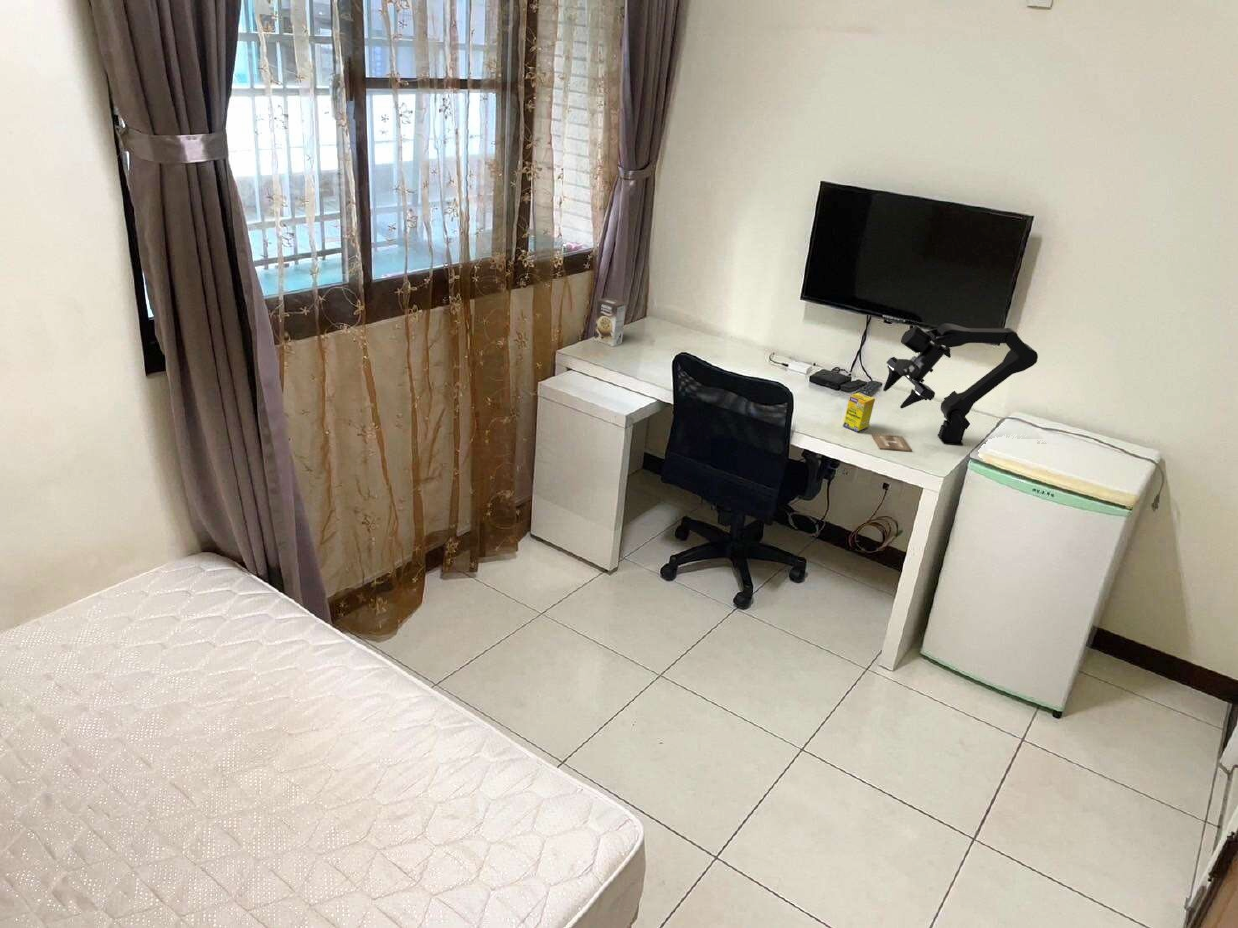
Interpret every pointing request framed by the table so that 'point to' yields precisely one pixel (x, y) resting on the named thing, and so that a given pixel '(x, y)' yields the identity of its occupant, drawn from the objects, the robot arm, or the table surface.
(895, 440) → the pad
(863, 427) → the supplement box
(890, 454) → the table surface
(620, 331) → the coffee box
